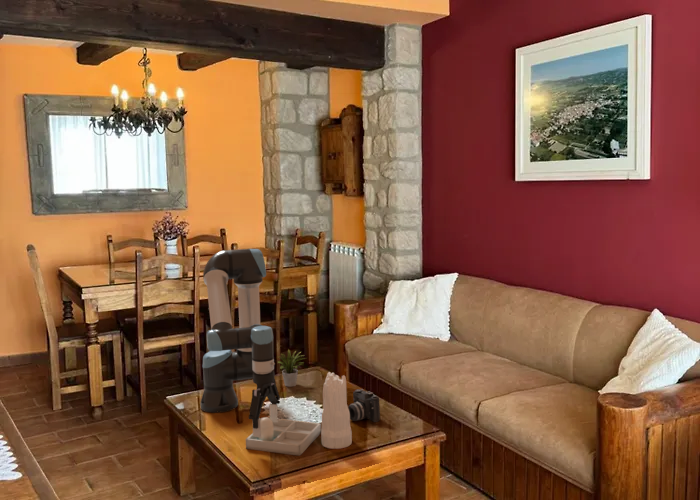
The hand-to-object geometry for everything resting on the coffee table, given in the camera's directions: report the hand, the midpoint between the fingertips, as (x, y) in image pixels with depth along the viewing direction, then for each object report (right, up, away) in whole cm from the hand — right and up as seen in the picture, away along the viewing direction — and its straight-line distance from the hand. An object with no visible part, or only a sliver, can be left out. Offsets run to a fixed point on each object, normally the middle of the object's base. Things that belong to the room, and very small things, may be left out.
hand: (265, 428), depth 236 cm
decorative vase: (+25, -5, +1) cm, 26 cm away
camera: (+34, -2, +23) cm, 41 cm away
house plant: (+3, +2, +62) cm, 63 cm away
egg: (0, -5, +1) cm, 5 cm away
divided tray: (+6, -5, +4) cm, 9 cm away
